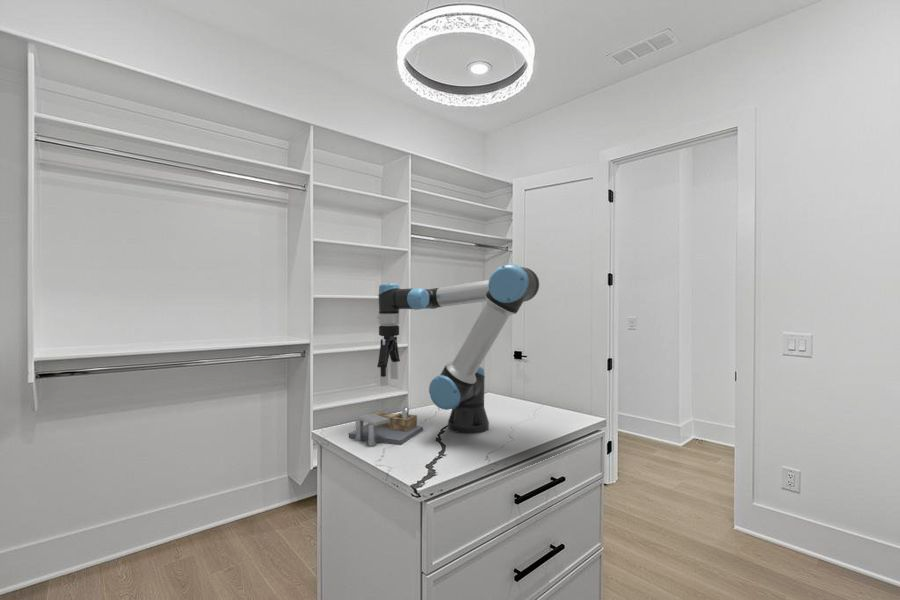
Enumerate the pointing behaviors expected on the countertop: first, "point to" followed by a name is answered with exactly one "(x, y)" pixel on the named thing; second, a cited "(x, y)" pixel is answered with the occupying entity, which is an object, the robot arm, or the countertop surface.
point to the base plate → (389, 434)
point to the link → (398, 421)
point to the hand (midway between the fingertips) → (389, 382)
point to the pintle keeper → (374, 425)
